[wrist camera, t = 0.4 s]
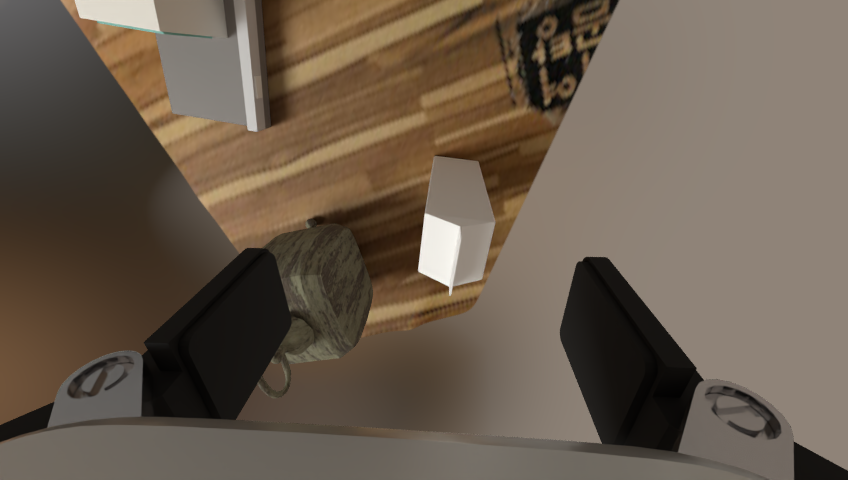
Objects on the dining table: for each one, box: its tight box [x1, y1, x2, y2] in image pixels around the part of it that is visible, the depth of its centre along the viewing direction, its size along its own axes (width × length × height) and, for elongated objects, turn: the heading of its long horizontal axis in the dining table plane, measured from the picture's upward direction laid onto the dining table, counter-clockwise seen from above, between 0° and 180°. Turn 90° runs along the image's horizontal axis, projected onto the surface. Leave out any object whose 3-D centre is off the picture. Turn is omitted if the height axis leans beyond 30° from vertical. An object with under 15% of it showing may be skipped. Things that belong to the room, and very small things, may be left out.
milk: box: [418, 156, 495, 296], centre depth 35 cm, size 6×6×22 cm
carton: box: [75, 0, 228, 39], centre depth 32 cm, size 7×5×10 cm
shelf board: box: [155, 0, 271, 132], centre depth 37 cm, size 20×12×4 cm, turn 171°
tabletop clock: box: [257, 219, 373, 398], centre depth 41 cm, size 14×9×25 cm, turn 14°
